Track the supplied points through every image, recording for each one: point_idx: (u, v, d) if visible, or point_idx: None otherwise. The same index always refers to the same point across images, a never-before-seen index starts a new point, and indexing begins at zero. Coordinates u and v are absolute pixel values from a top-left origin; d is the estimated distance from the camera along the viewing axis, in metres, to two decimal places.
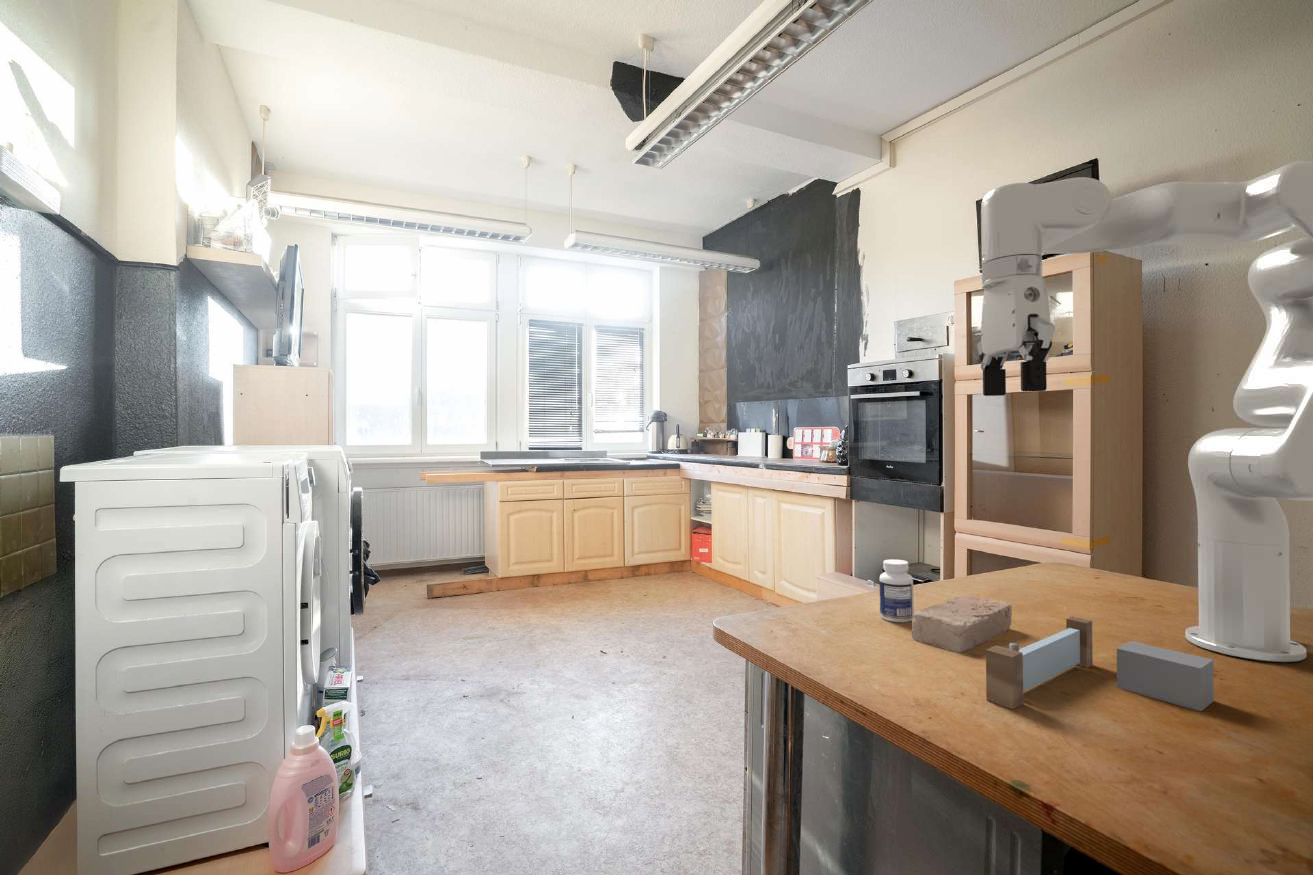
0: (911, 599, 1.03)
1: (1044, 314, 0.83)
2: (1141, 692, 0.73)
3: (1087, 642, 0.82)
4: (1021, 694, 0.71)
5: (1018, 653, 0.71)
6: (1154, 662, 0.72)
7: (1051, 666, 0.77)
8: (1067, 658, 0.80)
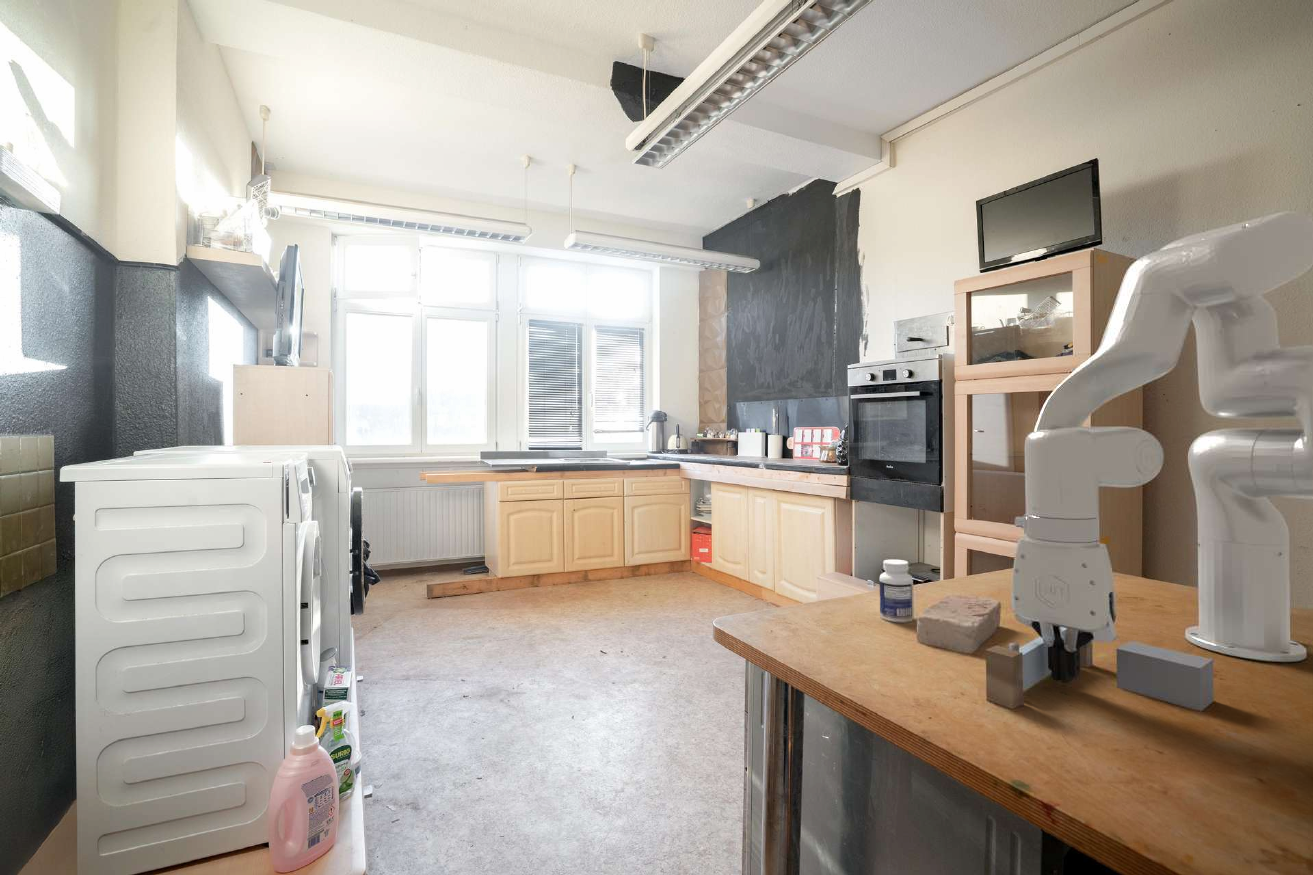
0: (911, 599, 1.03)
1: None
2: (1141, 692, 0.73)
3: None
4: (1021, 694, 0.71)
5: (1018, 653, 0.71)
6: (1153, 662, 0.72)
7: (1046, 664, 0.78)
8: None
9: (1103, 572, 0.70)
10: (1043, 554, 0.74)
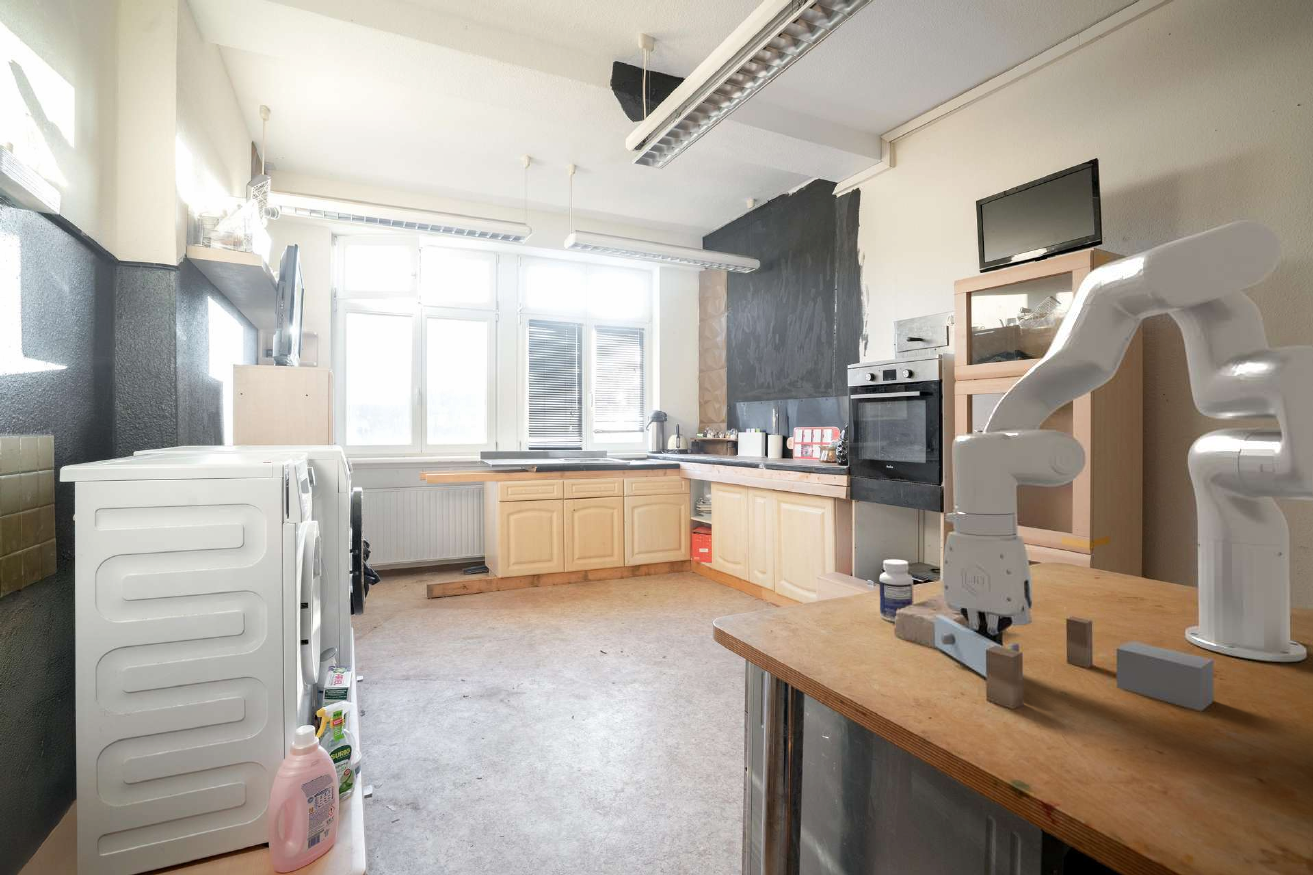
0: (911, 599, 1.03)
1: None
2: (1141, 692, 0.73)
3: (1087, 642, 0.82)
4: (1021, 694, 0.71)
5: (1018, 653, 0.71)
6: (1153, 662, 0.72)
7: None
8: None
9: (1018, 562, 0.78)
10: (967, 547, 0.82)
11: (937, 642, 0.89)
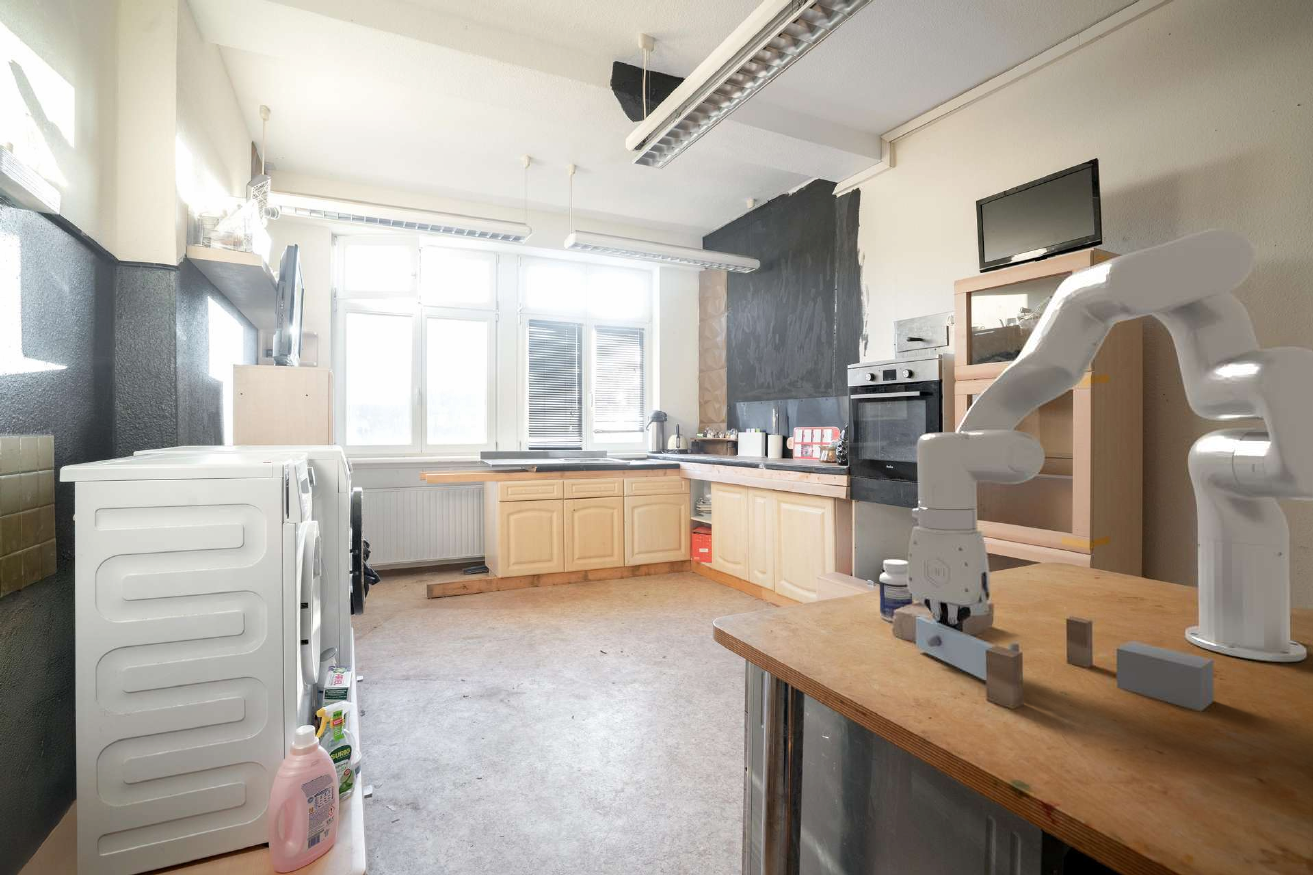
0: (911, 599, 1.03)
1: None
2: (1141, 692, 0.73)
3: (1087, 642, 0.82)
4: (1021, 694, 0.71)
5: (1018, 653, 0.71)
6: (1154, 662, 0.72)
7: None
8: None
9: (976, 555, 0.82)
10: (929, 540, 0.86)
11: (919, 644, 0.88)
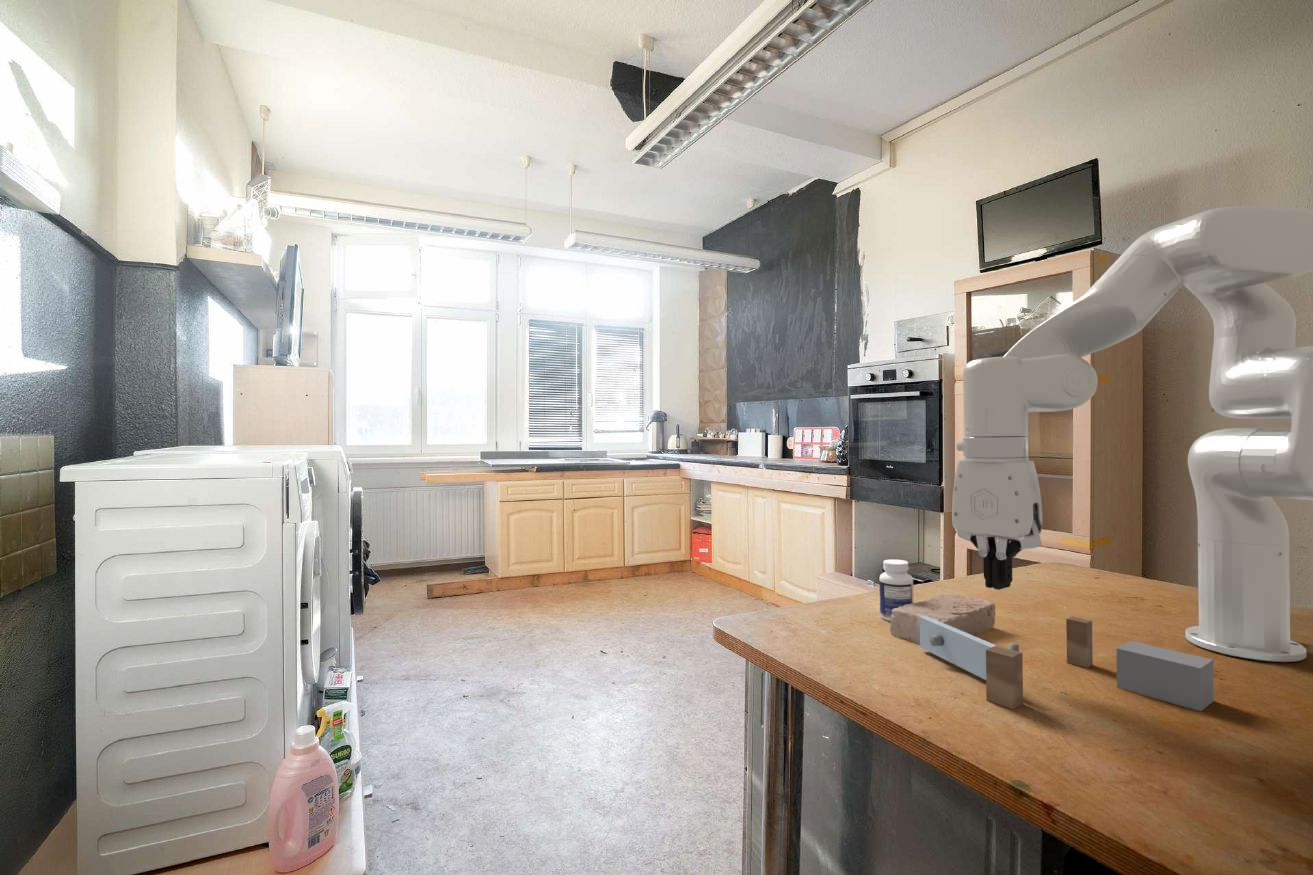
0: (911, 599, 1.03)
1: None
2: (1141, 692, 0.73)
3: (1087, 642, 0.82)
4: (1021, 694, 0.71)
5: (1018, 653, 0.71)
6: (1153, 662, 0.72)
7: None
8: None
9: (1027, 484, 0.77)
10: (976, 471, 0.81)
11: (923, 643, 0.88)
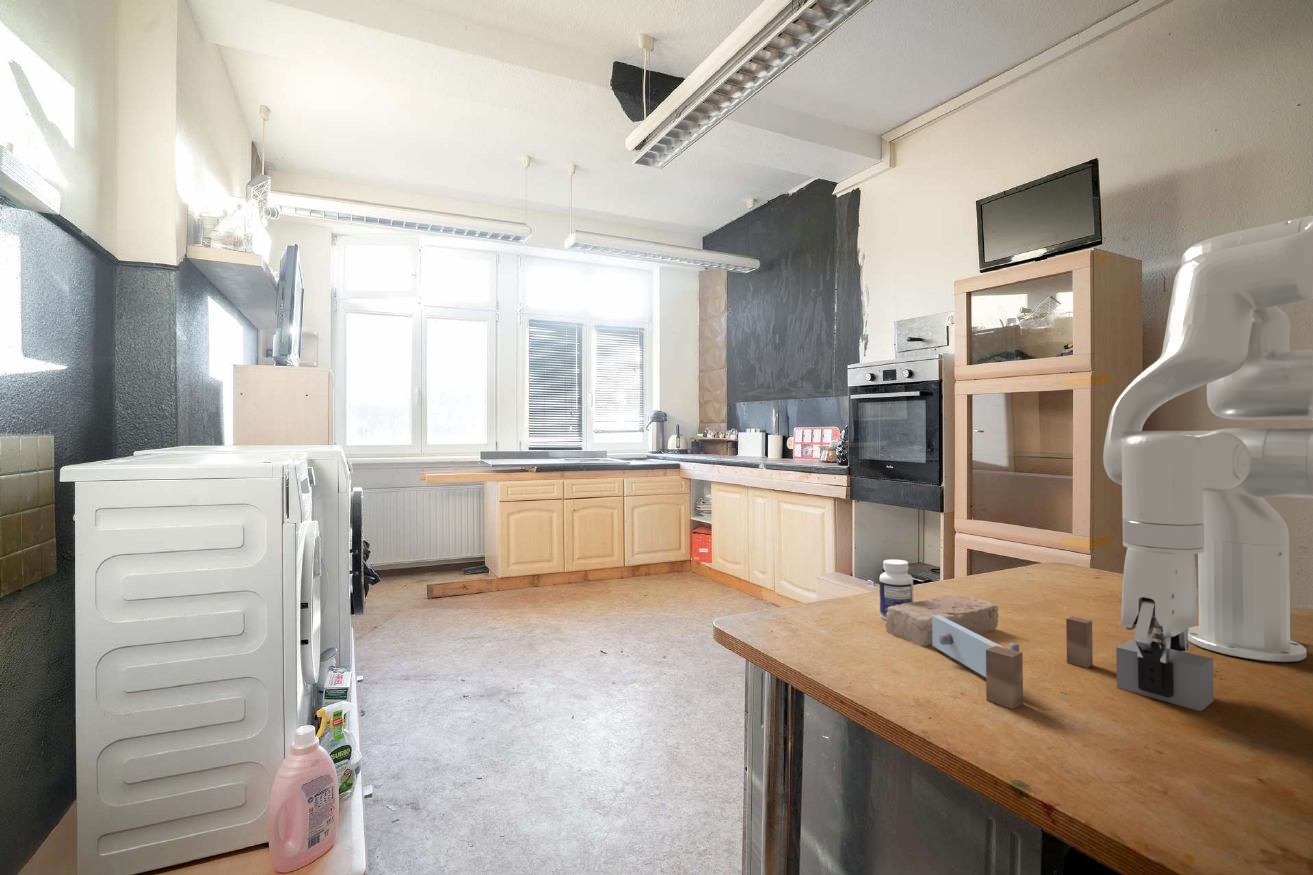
0: (911, 599, 1.03)
1: None
2: (1141, 691, 0.73)
3: (1087, 642, 0.82)
4: (1021, 694, 0.71)
5: (1018, 653, 0.71)
6: None
7: None
8: None
9: (1132, 574, 0.72)
10: None
11: (935, 642, 0.89)
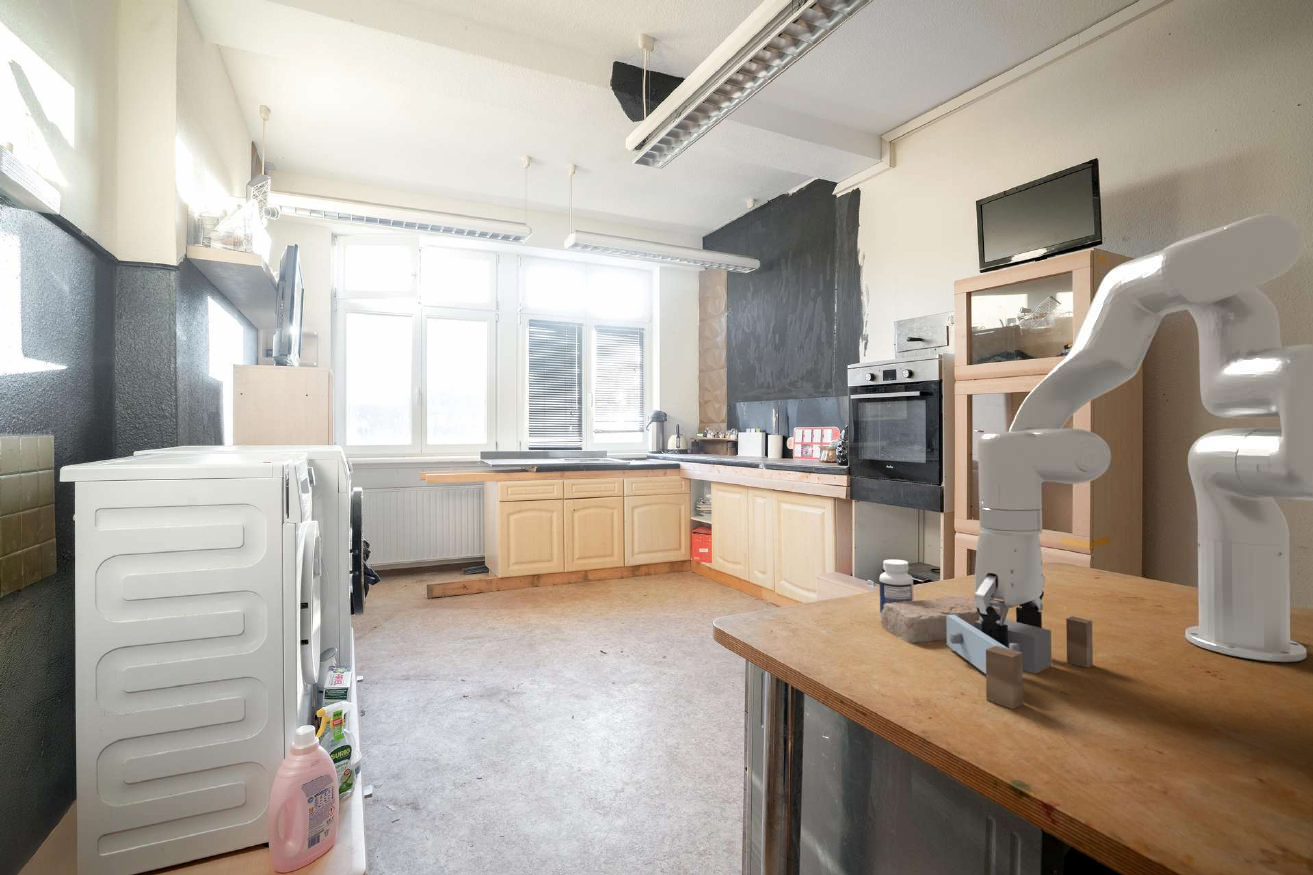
0: (911, 599, 1.03)
1: None
2: None
3: (1087, 642, 0.82)
4: (1021, 694, 0.71)
5: (1018, 653, 0.71)
6: None
7: None
8: None
9: (981, 553, 0.83)
10: None
11: (949, 641, 0.89)
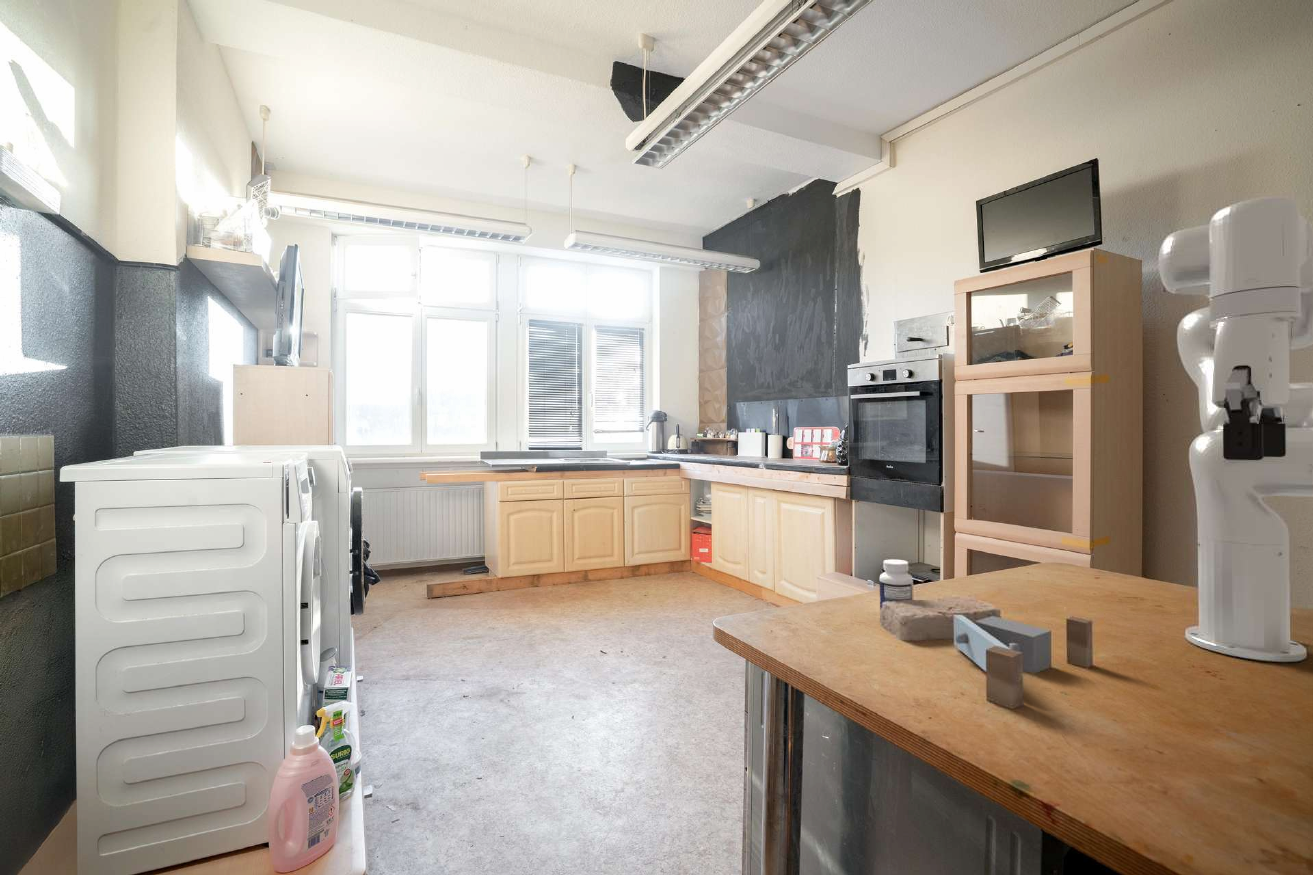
0: (911, 599, 1.03)
1: None
2: None
3: (1087, 642, 0.82)
4: (1021, 694, 0.71)
5: (1018, 653, 0.71)
6: (1000, 632, 0.84)
7: None
8: None
9: (1224, 345, 0.69)
10: None
11: (956, 641, 0.89)
